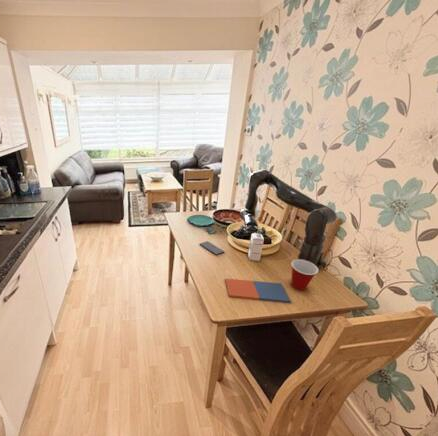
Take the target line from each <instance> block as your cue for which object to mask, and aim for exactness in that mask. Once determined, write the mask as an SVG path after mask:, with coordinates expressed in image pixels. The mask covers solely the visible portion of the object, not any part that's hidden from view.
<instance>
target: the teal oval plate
mask: <svg viewBox="0 0 438 436" xmlns="http://www.w3.org/2000/svg"><path fill="white" fill-rule="evenodd" d="M213 219H214V218H213V217H211V216H208V215H205V214H194V215H189V216H188V217H187V218H186V220H187V221H188V222H189V223H190V224H191V225H195V226H196V227H203V230H205V232H207V234H215V233H216V232H222V231H226V230H227V229H226V228H224V226H218V225H215V224H216V221H215V222H214V221H213ZM212 225H215V226H212ZM207 226H209V227H207ZM218 229H219V230H218Z"/></svg>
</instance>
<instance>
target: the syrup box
mask: <svg viewBox="0 0 438 436" xmlns="http://www.w3.org/2000/svg"><path fill="white" fill-rule="evenodd" d="M264 241H265V238H264V235H263V236H262V234H257V233H251V234H250V241H249V246H248V247H249V248H248V252H247V256H248V259H249V261H255V262H260V261H261V257H262V252H263V247H264Z"/></svg>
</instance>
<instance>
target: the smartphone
mask: <svg viewBox="0 0 438 436" xmlns="http://www.w3.org/2000/svg"><path fill="white" fill-rule="evenodd" d="M199 245H200V246H201V247H203V248H204V249H205V250H207V251H209V252H210V253H212V254H214V256H218V255H221V254H224V253H225V250H223V249H221V248H220V247H218V246H217V245H215V244H213V243H212V242H210V241H208V240H206V241H204V242H200V243H199Z"/></svg>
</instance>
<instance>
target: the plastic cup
mask: <svg viewBox="0 0 438 436" xmlns="http://www.w3.org/2000/svg"><path fill="white" fill-rule="evenodd" d="M297 259H298V258H297ZM297 259H293V260H291V263H290V265H291V286H292V288H294V289H295V290H298V291H305V290H306V289H307V288H308V286H309V284H310V283H311V281H312V280H313V278H314V277H315V275H317V274H318V273H319V267H318V268H317V266H315V265H314V264H313V263H311V262H309V261H305V260H299V259H298V260H297Z"/></svg>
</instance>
